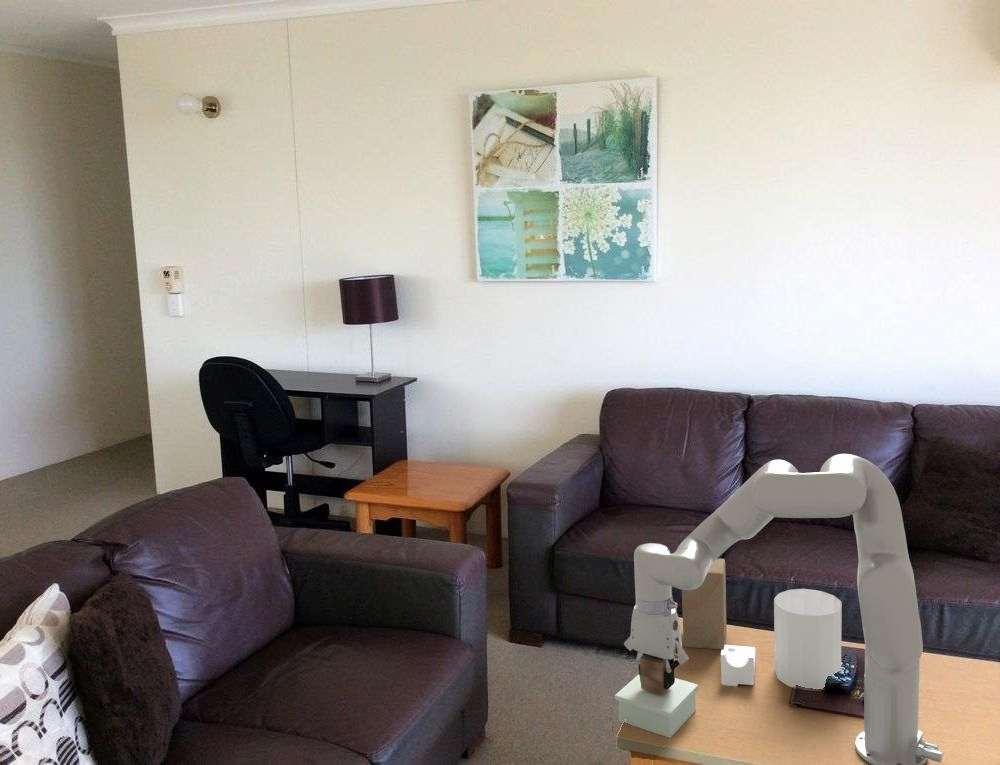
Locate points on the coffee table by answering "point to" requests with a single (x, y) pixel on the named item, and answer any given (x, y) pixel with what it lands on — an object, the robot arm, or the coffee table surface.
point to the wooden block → (706, 610)
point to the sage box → (657, 706)
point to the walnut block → (652, 674)
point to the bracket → (737, 665)
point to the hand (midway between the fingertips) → (656, 682)
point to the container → (807, 637)
